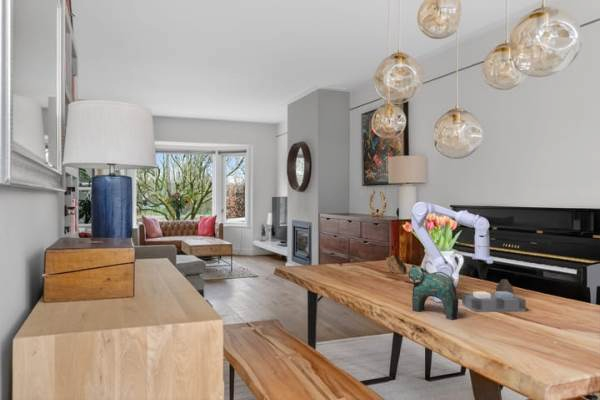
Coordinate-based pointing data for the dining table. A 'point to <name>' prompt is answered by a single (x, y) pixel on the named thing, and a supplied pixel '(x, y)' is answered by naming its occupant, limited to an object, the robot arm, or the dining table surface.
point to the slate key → (503, 294)
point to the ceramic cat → (433, 290)
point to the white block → (481, 295)
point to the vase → (504, 286)
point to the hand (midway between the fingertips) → (482, 278)
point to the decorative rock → (395, 265)
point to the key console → (494, 303)
